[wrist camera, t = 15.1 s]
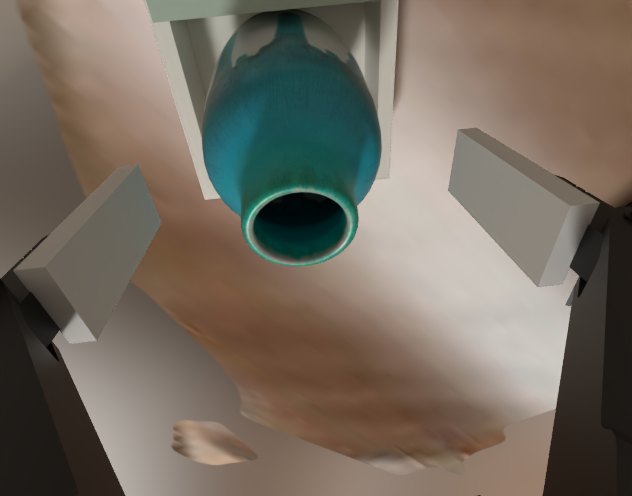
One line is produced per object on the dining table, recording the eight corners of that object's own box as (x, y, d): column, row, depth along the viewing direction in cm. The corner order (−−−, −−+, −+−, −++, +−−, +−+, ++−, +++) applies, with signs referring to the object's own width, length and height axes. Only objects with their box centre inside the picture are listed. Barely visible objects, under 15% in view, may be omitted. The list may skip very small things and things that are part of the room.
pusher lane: (373, 154, 35) (395, 187, 29) (214, 173, 34) (200, 211, 28) (381, -174, 22) (424, -246, 16) (124, -154, 21) (62, -219, 15)
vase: (371, 24, 26) (470, 165, 13) (321, 142, 33) (355, 307, 21) (233, -37, 23) (190, 74, 10) (210, 109, 30) (168, 283, 17)
